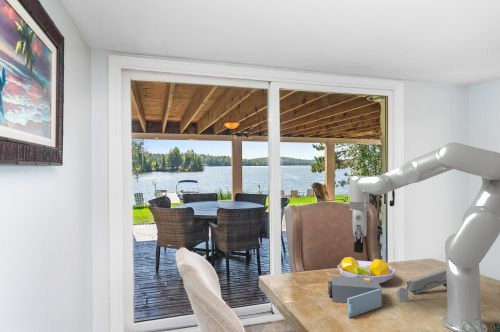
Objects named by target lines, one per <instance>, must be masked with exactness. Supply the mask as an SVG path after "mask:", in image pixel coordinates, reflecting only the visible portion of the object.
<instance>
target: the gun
mask: <svg viewBox="0 0 500 332" xmlns="http://www.w3.org/2000/svg"><path fill="white" fill-rule="evenodd" d="M409 280H410V281H412V282H414V286H413V288H412V291H411V292H410V293H412V294H413V295H418V294H420V293H423V292H426V291H428V290H429V291H430V290H431V289H435V288H438V287H441V286H442V287H445V288H446V289H447V275H446V267H444V268H440V269H437V270H435V271H432V272H429V273H426V274H424V275H420V276H417V277H414V278H411V279H408V280H407V281H406V285H407V284H408V282H409Z"/></svg>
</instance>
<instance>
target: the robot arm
mask: <svg viewBox="0 0 500 332" xmlns="http://www.w3.org/2000/svg"><path fill="white" fill-rule="evenodd" d="M452 170H456V171H460V172H462V173H463V172H464V173H467V174H470V175H473V176H477V177H481V179H482V183H481V187H480V189H479V191H478V193H477V194H476V196H475V198H474V200H472V202H471V205H470V206H469V207H468V208H467V209H466V211H465V212H464V213H463V217H462V222H461V225H460V226H459V227H458V229H457V231H456V232H455V233H452V234H451V235H449V236H448V237H447V239H446V240H445V244H444V250H445V268H446V275H447V288H446V300H447V301H446V302H447V303H446V305H447V307H446V308H447V315H445V316H444V317H443V318H442V324H443V325H444V326H445V327H446V328H447V329H449V330H451V331H454V332H488V326H487V325H486V324H484V323H483V322H482V302H481V300H482V299H481V298H482V297H481V273H480V263H481V262H482V260H483V259H484V258H485V256H487V254H488V252H490V249H491V248H492V247H493V245H494V243H495V241H496V240H497V239H498V237H499V236H500V152H497V151H493V150H489V149H484V148H480V147H475V146H472V145H468V144H464V143H460V142H448V143H446V144H444V145H443V146H441V147H439V148H436V149H434V150H431V151H429V152H427V153H425V154H422V155H420V156H417V157H414V158H412V159H410V160H408V161H407V162H406V163H404V164H403V165H401V166H400V167H397V168H394V169H392V170H390V171H388V172H385V173H382V174H379V175H371V176H367V175H351V176H350V177H349V181H348V182H349V184H348V185H349V187H348V188H349V189H348V190H349V191H348V193H349V200H348V201H349V204H348V205H349V206H348V207H349V209H348V210H350V211H351V212H352V213H351V214H352V219H351V221H352V222H351V223H352V234H353V236H354V241H353V243H354V245H353V252H354V253H357V254H358V253H359V254H363V253H364V237H367V231H368V230H367V228H368V227H367V226H368V225H367V222H368V221H367V219H368V217H367V216H368V215H367V212H369V211H370V195H376V196H383V195H385V194H388V193H390V192H393V191H395V190H397V189H401V188H403V187H406V186H409V185H412V184H415V183H420V182H423V181H425V180H428V179H431V178H433V177H436V176H438V175H441V174H444V173H446V172H449V171H452Z"/></svg>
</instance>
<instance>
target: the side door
mask: <svg viewBox="0 0 500 332" xmlns="http://www.w3.org/2000/svg"><path fill="white" fill-rule="evenodd" d="M346 304H347V306H346V307H347V309H346V310H347V318H353V317H355V316H359V315H361V314H363V313H367V312H370V311H372V310H376V309H378V308H382V307H383V290H382V288H381V289H377V290H373V291H370V292H367V293H363V294H360V295H357V296H354V297H350V298H347V303H346Z"/></svg>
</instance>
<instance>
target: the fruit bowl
mask: <svg viewBox="0 0 500 332" xmlns="http://www.w3.org/2000/svg"><path fill="white" fill-rule="evenodd" d="M337 269H338V270H339V272H340V274H341V275H340V276H343V277H359V278H375V279H378V282H379V284H383V283H385V282H387V281H389V280H391V279H393V277H394V274H395V272H396V269H395V268H393V267H392V266H390V265H388V263H387V262H386V260H384V259H377V258H376V259H374V260H372V261H367V260H356V259H355V258H354V257H352V256H347V257H344V258H342V260H341V261H340V263H339V264H338V265H337Z"/></svg>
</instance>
